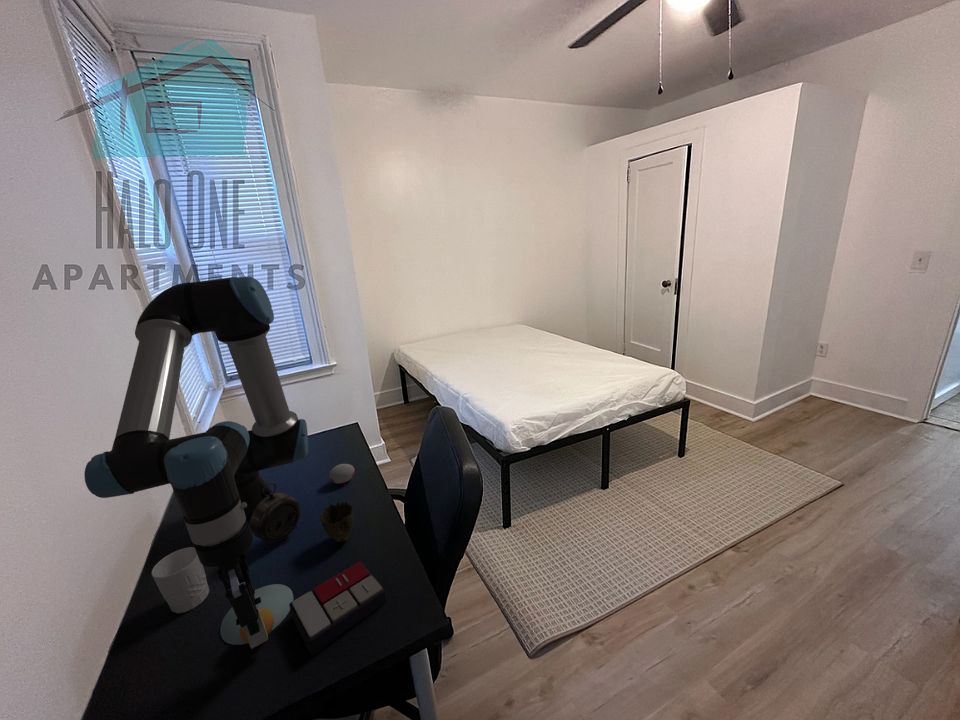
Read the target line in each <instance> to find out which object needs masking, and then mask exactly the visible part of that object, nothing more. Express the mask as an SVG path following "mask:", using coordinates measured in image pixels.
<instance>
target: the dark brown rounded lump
mask: <svg viewBox="0 0 960 720" xmlns="http://www.w3.org/2000/svg"><path fill="white" fill-rule="evenodd" d="M323 510H324V512H323V513H320V514H319V520H320V522H321V524H322V527H323V530H324V531H325V533H326V535H327V536H328V537H329V538H331V539H333V540H334V541H335V542H336V543H339V544H341V543H344V542H347V540H348V539H349V538H350V533H351V531H352V529H353V527H354V515H353V512H354V511H353V505H351V503H348V502H347V501H346V502H344V501H342V502H341V503H340V502H336V504H334V503H331V504H330V505H329V506H328V507H324V509H323Z"/></svg>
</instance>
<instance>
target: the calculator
mask: <svg viewBox="0 0 960 720" xmlns="http://www.w3.org/2000/svg"><path fill="white" fill-rule="evenodd" d="M387 601H388V598H387V591H386V588H385V587H384V586H383V585H382V584H381V582H380V581H379V580H378V579H377V577H375V575H374V574H373V573H372V572H371V571H370V569H368V567H367V566H366V565H365V563H364V562H362V561H357V563H354V564H353V565H351V566H349V567H348V568H346V569H343V570H342V571H341V572H339V573H337V574H335V575H334V576H332V577H331V578H328V579H327V580H325V581H324V582H322V583H320V584H318V585H317V586H315V587H314V588H313V589H311V590H310V591H308V592H306V593H304V594H303V595H301V596H299V597H297V598H295V599H293V601H292V602H291V603H290V604H289V606H290V611H289V612H290V614H291V615H290V616H291V618H292V619H291V620H293V622H294V625H295V627H296V628H297V630H298V631H297V632H298V633H299V634H300V636H301V638H302V640H303V641H302V642H304V645H305V646H306V649H307V650H308V652H309V654H310V656H311V657H313V656H315V655H316V654H319V652H321V651H322V650H323V649H324V648H326V647H328V646H329V645H330V644H332V643H333V642H334V641H336V639H337V638H338V637H339V636H341V635H343V634H344V633H346V631H348V630H350V629H351V628H352V627H354V626H355V625H357V624H358V623H360V622H361V621H363V620H364V619H365V618H367V617H368V616H369V615H371V614H373V612H375V611H376V610H378V609H379V608H380V607H382V606H383V605H384V604H385V603H387Z"/></svg>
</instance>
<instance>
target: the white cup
mask: <svg viewBox="0 0 960 720" xmlns="http://www.w3.org/2000/svg"><path fill="white" fill-rule="evenodd" d="M204 567H205V566H204V565H202V564H201V563H200V560H199V558H198V555H197V552H196V550H195V547H192V546H191V547H184V548H181V549H177V550H176V551H173V552H171V553H169V554H167V555H166V556H164V557H162V559H161V560H159V561H158V562H157V563H156V564H155V565H154V566H153V568H152V570H151V574H150V575H151V576H152V578H153V580H154V582H155V585H156V586H157V587H158V590H159V593H161V595H162V597H163V599H164V601H166V603H167V605H168V606H169V608H170V610H171V612H172V613H176V614H182V613H186V612H188V611H191V610H194V609H195V608H197V606H199V605H200V604H202V603H203V602H204V601H205V599H206V598H208V596H209V593H210V588H209V585H208V580H207V578H208V577H207V575H206V571H205V568H204Z"/></svg>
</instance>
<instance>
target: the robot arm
mask: <svg viewBox="0 0 960 720" xmlns="http://www.w3.org/2000/svg"><path fill="white" fill-rule="evenodd" d="M274 313H275V312H274V310H273V307H272V303H271V301H270V298H269V296H268V294H267V292H266V290H265V288H264V287H263V285H262V283H260V281H259V280H258V279H256V278H255V277H253V276H232V277H224V278H217V279H208V280H200V281H192V282H182V283H178V284H175V285H173V286H170V287H168V288H166V289H164V290H163V291H162V292H161V293H159V294H157V296H155V298H153V299H152V300H151V301H150V302H149V303H148V304H147V306H146V307H145V308H144V310H143V311H142V313H141V314H140V316H139V318H138V321H137V322H136V326H135V329H134V337H135V338H136V340H137V341H138V345H137V347H136V352H135V357H134V360H133V365H132V369H131V373H130V377H129V381H128V385H127V389H126V393H125V397H124V401H123V405H122V409H121V413H120V417H119V421H118V424H117V428H116V433H115V437H114V440H113V442H112V443H113V444H112V447H111V450H110V451H108V450H106V451H104V452H102V453H99V454H96V455H94V456H92V457H91V458H90V460H89V461H88V462H87V463H86V466H85V468H84V473H83V475H84V482H85V486H86V488H87V489H88V491H89V492H90V493H91V494H92V495H94V496H96V497H97V498H100V499H107V498H114V497H119V496H126V495H133V494H134V493H137V492H142V491H146V490H149V489H153V488H154V489H155V488H158V487H162V486H165V485H171V488H172V491H173V493H174V495H175V498H176V501H177V503H178V506H179V509H180V510H181V512H182V516H183V521H184V524H185V526H186V529H187V531H188V536H189V538H190V540H191V543H192V544H194V547H193V548H195V550H196V552H197V555H198V558H199V560H200V563H201V564H202V565H203V567H207V568H217V567H218V570H217V575H218V578H219V581H220V582H222V583H223V586H224V589H225V597H226V598H227V600H228V601H229V603H230V605H231V608H232V607H233V609H234V612H235V614H236V616H237V618H238V619H236V625H239V624H240V626H241V627H244V630H245V633H246V636H247V639H248V641H249V647H250V649H251V650H252V649H254V648H257V646H260V645H261V644H263V643H265V642H266V641H268V640H269V637H268V636H269V635H267V631H266V628H265V625H264V622H263V620H262V617H261V614H260V611H259V608H258V606H257V607H256V605H257V604H259V603H261V598H260V597H258V598H256V599H255V597H254V595H255V591H254V590H255V589H254V587H253V585H252V581H251V578H250V571H249V570H250V569H249V565H248V561H247V553H246V552H247V551H248V550H249V548H250V547H251V545H252V544H253V539H254V537H253V533H252V531H251V529H250V523H249V522H248V521H249V520H247V519H251V516H252V513H253V511H254V509H255V508H256V506H257V505H258V504H259V503H260V502H261V501H262V500H263V499H264V498H265V497H267V496H264V494H265V495H269V493H271V492H273V489H272V487H271V486H270V485H269V484H268V485H267V486H266V487H265V489H264V494H263V488H264V486H265V485H266V484H267V483H268V482H267V481H266V480H265V478H263V476H262V475H261V474H260V471H264V470H267V469H268V470H269V469H272V468H276V467H279V466H284V465H288V464H294V463H297V462H300V461H303V460H305V459H306V458H307V456H308V454H309V453H308V452H309V436H308V435H309V434H308V426H307V421H306V419H304V418H299V417H298V415H297V413H296V412H295V411H293V410H292V411H291V410H290V408H289V406H288V402H287V399H286V396H285V393H284V392H285V391H284V390H283V386H282V383H281V380H280V377H279V374H278V370H277V367H276V364H275V361H274V358H273V355H272V351H271V348H270V344H269V342H268V338H267V335H268V333H269V331H270V330H271V327H270V325H271V323H274V319H275V315H274ZM210 332H211V333H212V332H214V334H215V337H216V339H217V341H218V342H221V343H223V344H225V345H226V346H227V348H228V351H229V353H230V356H231V358H232V362H233V364H234V367H235V370H236V371H237V372H236V373H237V375H238V378H239V380H240V383H241V386H242V389H243V390H244V391H243V392H244V393H245V396H246V398H247V399H246V400H247V402H248V405H249V407H250V411H251V413H252V415H253V418H254V421H255V422H254V423H253V425H252V426H251V430H248V428H247V427H246V426H245V425H242V424H240V423H239V422H235V421H232V420H231V421H228V420H227V421H220V422H217V423H215V424H214V425H212V426H211V427H209V428H208V429H207V430H205V432H200V433H196V434H190V435H186V436H184V435H183V436H181V437H176V438H170V437H171V432H172V431H171V430H172V426H173V425H172V424H173V419H174V413H175V407H176V402H177V395H178V389H179V383H180V377H181V370H182V365H183V360H184V359H183V358H184V353H185V348H186V347H188V346H189V345H191V344H192V340H193V337H194V335H197V334H200V333H201V334H202V333H210Z"/></svg>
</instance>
